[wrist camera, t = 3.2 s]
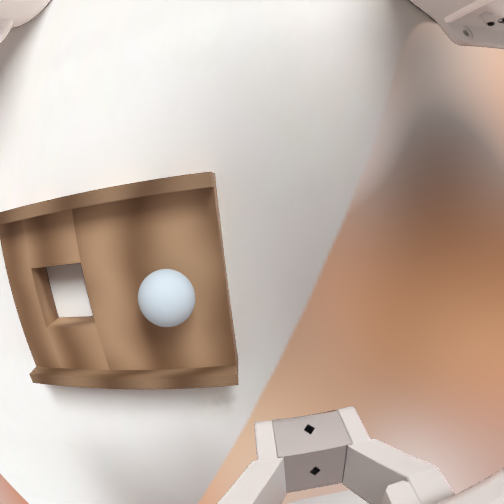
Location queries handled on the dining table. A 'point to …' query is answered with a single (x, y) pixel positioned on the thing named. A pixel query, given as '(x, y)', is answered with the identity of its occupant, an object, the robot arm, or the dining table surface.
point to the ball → (166, 297)
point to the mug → (18, 13)
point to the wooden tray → (124, 285)
